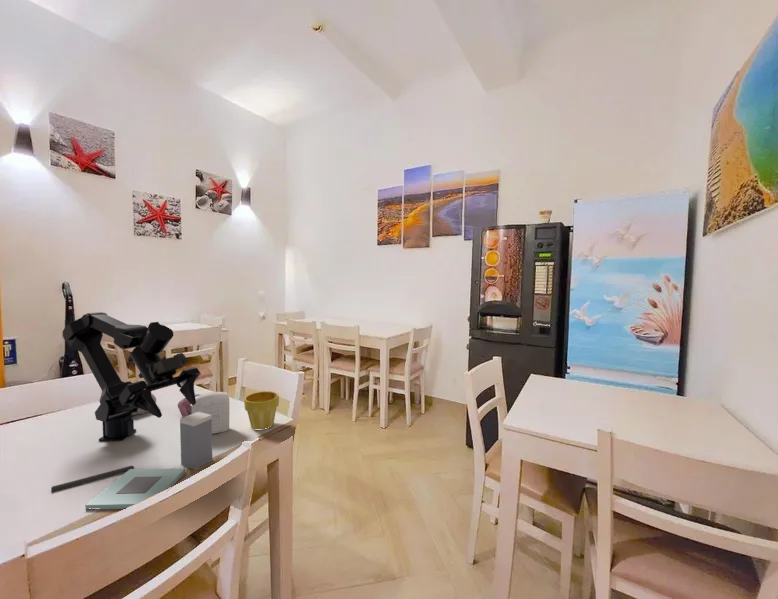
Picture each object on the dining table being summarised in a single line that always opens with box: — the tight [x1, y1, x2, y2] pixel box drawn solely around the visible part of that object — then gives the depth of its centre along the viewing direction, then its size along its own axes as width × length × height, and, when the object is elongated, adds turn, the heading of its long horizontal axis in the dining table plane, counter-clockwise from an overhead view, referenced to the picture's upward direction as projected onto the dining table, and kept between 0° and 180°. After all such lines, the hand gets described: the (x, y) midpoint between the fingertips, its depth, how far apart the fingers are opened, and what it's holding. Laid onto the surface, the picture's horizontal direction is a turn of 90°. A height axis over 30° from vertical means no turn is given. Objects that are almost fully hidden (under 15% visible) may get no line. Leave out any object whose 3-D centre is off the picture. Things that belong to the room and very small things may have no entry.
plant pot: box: [243, 390, 280, 430], centre depth 109 cm, size 10×10×10 cm
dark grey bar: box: [50, 465, 135, 493], centre depth 80 cm, size 15×1×1 cm, turn 128°
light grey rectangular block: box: [179, 412, 213, 470], centre depth 87 cm, size 5×5×12 cm
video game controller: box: [177, 393, 203, 418], centre depth 119 cm, size 10×5×7 cm, turn 144°
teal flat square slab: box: [85, 467, 186, 510], centre depth 76 cm, size 13×13×1 cm
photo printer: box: [191, 391, 230, 435], centre depth 104 cm, size 10×4×12 cm, turn 123°
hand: (178, 410), depth 89 cm, fingers open, 9 cm apart
